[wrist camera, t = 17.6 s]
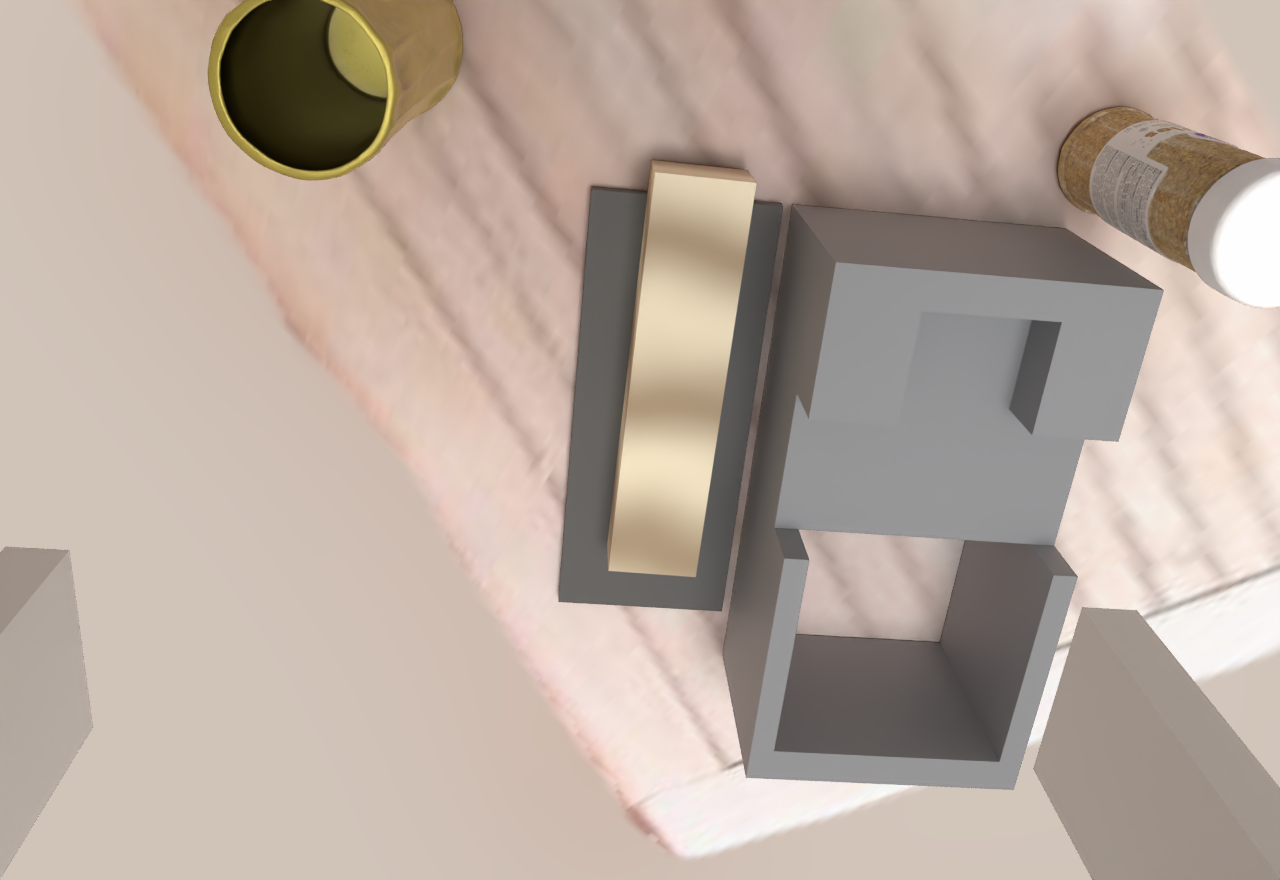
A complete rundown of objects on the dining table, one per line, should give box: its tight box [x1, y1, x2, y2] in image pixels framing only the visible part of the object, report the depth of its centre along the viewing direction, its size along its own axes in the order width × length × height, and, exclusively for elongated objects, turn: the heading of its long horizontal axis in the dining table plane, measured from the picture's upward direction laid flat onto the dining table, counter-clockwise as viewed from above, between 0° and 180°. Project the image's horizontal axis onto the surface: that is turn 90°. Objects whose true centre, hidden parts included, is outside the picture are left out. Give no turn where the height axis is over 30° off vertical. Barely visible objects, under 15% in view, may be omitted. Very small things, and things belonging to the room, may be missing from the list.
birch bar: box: [607, 160, 756, 577], centre depth 49 cm, size 18×4×2 cm, turn 174°
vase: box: [208, 0, 463, 180], centre depth 38 cm, size 6×6×14 cm
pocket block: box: [723, 204, 1164, 790], centre depth 49 cm, size 23×12×9 cm, turn 174°
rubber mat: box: [558, 186, 783, 611], centre depth 51 cm, size 20×8×1 cm, turn 174°
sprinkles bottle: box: [1058, 107, 1280, 308], centre depth 41 cm, size 5×5×14 cm
